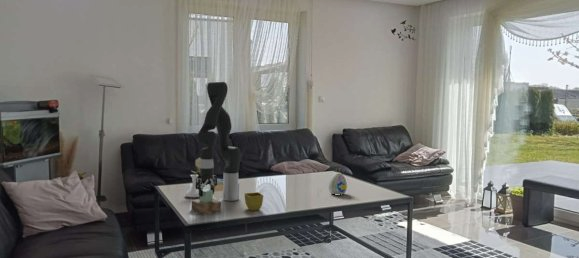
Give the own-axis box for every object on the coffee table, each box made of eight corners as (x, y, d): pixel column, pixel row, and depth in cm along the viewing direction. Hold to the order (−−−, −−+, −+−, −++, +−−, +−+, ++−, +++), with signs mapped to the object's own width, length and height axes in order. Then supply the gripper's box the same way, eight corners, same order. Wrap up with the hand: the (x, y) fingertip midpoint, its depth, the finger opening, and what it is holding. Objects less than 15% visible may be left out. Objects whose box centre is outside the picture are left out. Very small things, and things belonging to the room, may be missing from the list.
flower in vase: (187, 199, 270) (187, 159, 268) (183, 195, 281) (183, 156, 278) (207, 197, 276) (208, 158, 274) (203, 193, 286) (203, 156, 284)
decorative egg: (334, 197, 288) (335, 174, 287) (324, 193, 299) (325, 171, 298) (349, 195, 294) (350, 173, 292) (339, 191, 305) (340, 170, 303)
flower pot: (248, 212, 246) (249, 196, 246) (243, 208, 254) (244, 193, 254) (263, 210, 250) (263, 195, 249) (257, 207, 258) (258, 192, 257)
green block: (206, 199, 250) (206, 189, 249) (212, 200, 247) (212, 190, 246) (199, 201, 246) (199, 190, 245) (206, 202, 243) (206, 192, 242)
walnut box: (210, 207, 255) (210, 197, 255) (220, 212, 246) (221, 201, 246) (191, 210, 247) (191, 200, 247) (201, 215, 238) (202, 204, 238)
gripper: (211, 164, 252) (211, 191, 254) (192, 167, 241) (192, 196, 242) (220, 165, 248) (220, 193, 250) (201, 169, 237) (201, 198, 238)
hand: (206, 195), depth 246 cm, fingers open, 8 cm apart
